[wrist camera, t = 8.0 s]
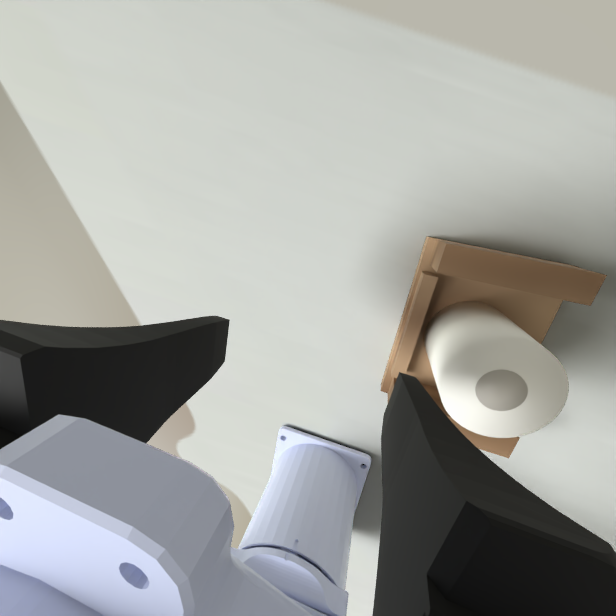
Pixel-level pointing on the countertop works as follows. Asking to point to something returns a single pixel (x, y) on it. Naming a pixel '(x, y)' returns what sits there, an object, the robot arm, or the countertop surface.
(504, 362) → the paper roll
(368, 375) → the countertop surface
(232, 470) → the countertop surface
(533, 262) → the holder
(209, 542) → the robot arm
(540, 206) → the countertop surface
